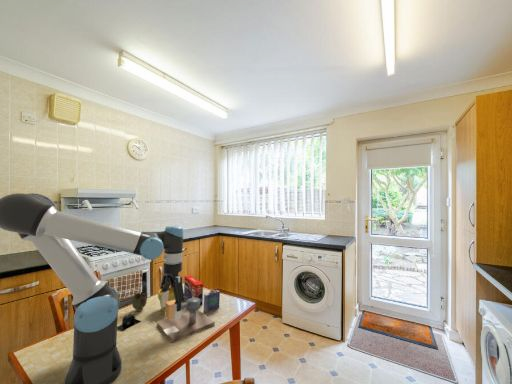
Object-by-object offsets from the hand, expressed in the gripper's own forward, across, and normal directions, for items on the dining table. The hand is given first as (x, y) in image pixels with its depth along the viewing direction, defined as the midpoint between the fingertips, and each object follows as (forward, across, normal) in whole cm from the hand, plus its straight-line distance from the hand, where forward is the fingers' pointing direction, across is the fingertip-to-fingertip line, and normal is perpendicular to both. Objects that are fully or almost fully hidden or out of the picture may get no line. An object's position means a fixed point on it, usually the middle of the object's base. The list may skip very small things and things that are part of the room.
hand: (170, 312), depth 99 cm
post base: (+9, -2, +8) cm, 13 cm away
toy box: (+9, -25, +24) cm, 36 cm away
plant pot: (+10, -23, +8) cm, 26 cm away
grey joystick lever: (+2, 0, +6) cm, 6 cm away
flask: (+9, -8, +26) cm, 28 cm away
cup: (+10, -31, -4) cm, 33 cm away
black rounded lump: (+10, -20, -11) cm, 25 cm away
